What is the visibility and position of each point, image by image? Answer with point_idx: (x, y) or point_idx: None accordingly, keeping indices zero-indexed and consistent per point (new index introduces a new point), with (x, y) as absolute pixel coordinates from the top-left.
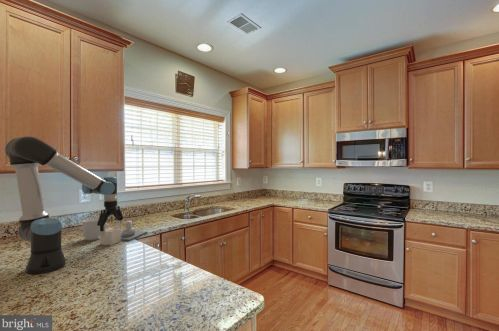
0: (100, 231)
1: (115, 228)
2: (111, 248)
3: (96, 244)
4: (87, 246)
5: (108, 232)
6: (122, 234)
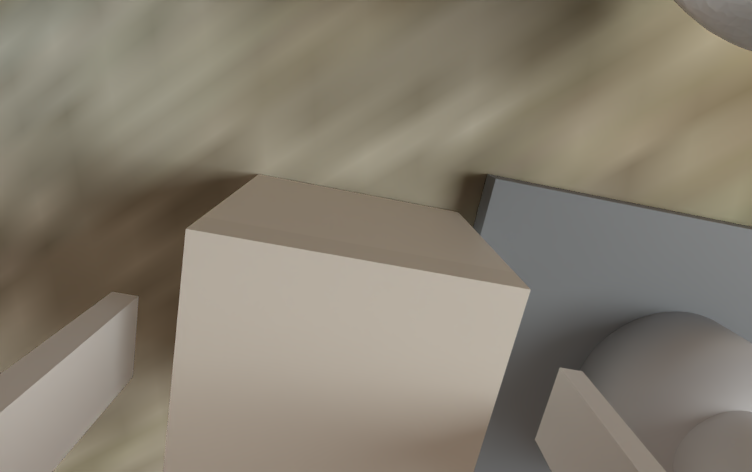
0: (184, 246)
1: (459, 448)
2: (112, 421)
3: (251, 122)
4: (140, 33)
5: (169, 441)
6: (627, 338)
